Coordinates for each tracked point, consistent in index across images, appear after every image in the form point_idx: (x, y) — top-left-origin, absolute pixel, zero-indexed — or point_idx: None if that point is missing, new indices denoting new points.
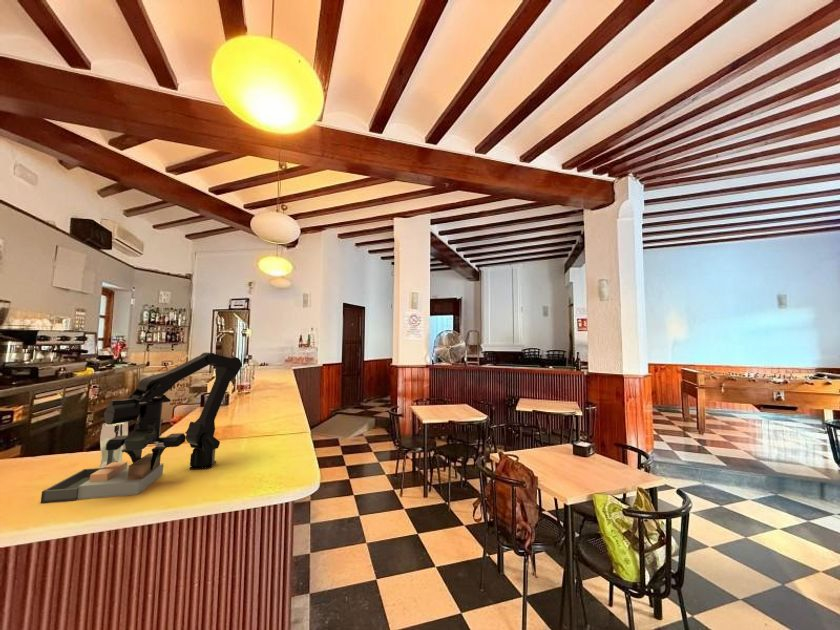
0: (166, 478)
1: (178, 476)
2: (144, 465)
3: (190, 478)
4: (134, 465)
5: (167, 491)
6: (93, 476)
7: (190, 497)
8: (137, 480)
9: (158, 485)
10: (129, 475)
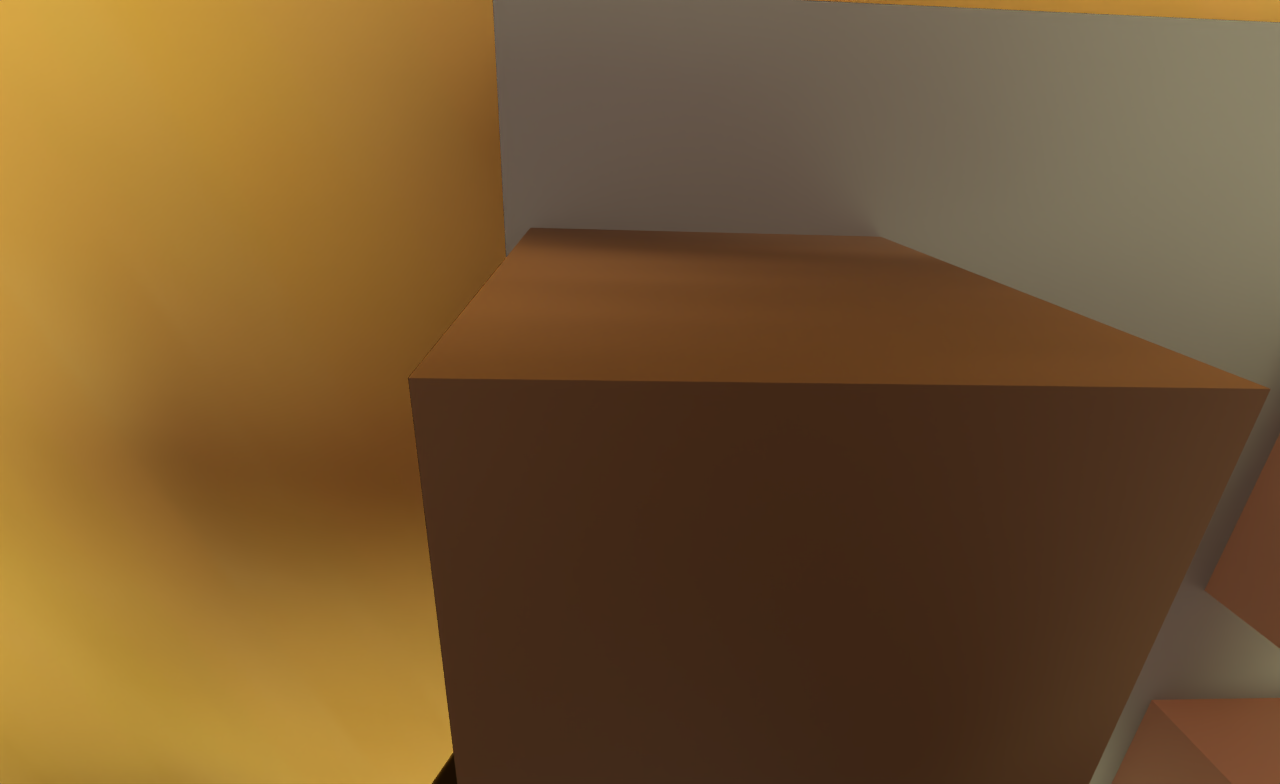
0: (424, 655)
1: (285, 694)
2: (457, 511)
3: (27, 600)
4: (947, 383)
5: (12, 71)
6: None
7: None
8: (594, 129)
9: (389, 417)
10: (895, 257)
